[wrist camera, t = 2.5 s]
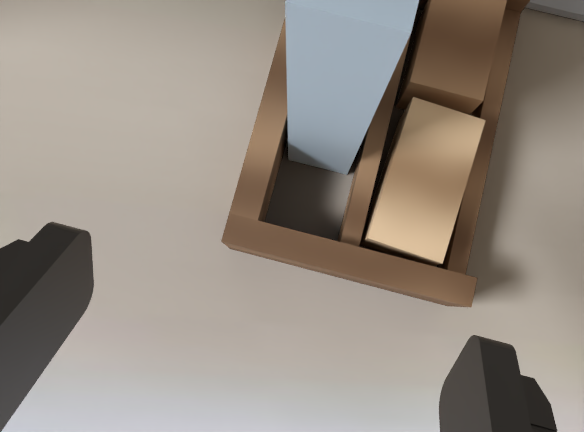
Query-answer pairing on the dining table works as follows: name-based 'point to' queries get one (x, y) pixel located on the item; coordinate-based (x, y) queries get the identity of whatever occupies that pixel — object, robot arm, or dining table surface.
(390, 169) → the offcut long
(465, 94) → the offcut short
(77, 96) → the dining table surface
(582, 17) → the mat
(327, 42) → the pale blue tall prism
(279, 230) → the rack
